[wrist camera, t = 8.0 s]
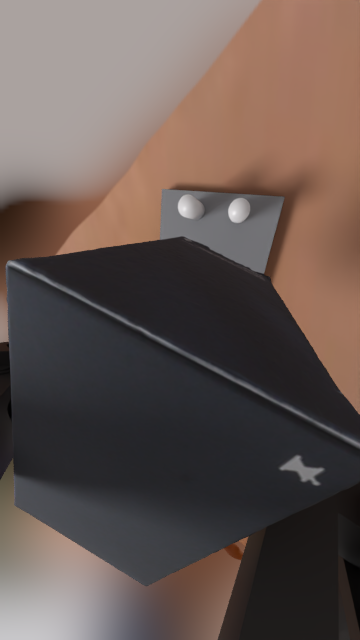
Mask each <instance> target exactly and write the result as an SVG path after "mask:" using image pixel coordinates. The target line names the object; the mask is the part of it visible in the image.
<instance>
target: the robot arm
mask: <svg viewBox="0 0 360 640" xmlns="http://www.w3.org/2000/svg"><path fill="white" fill-rule="evenodd" d="M12 458H13V432H12V404H11V376H10V353H9V342H3V343H0V479H1V478H2V476H3V474H4V472H5V471H6V469H7V467H8V465H9V464H10V462H11V460H12ZM218 640H360V482H359V483H357V484H356V485H354V486H352V487H350V488H348V489H346V490H342V491H340V492H338V493H336V494H335V495H333V496H331V497H329V498H326V499H324V500H322V501H320V502H318V503H317V504H315V505H312V506H310V507H308V508H306V509H303V510H301V511H299V512H297V513H295V514H292V515H290V516H288V517H286V518H284V519H282V520H280V521H278V522H276V523H273V524H271V525H269V526H267V527H265V528H264V529H262V530H261V531H258V532H256V533H254V534H252V535H250V536H249V537H248V540H247V544H246V547H245V550H244V554H243V557H242V560H241V564H240V567H239V570H238V574H237V577H236V580H235V584H234V587H233V590H232V595H231V597H230V600H229V604H228V607H227V611H226V614H225V617H224V621H223V624H222V627H221V631H220V634H219V637H218Z"/></svg>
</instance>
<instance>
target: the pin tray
mask: <svg viewBox="0 0 360 640" xmlns="http://www.w3.org/2000/svg"><path fill="white" fill-rule="evenodd" d="M284 198H285V197H281V196H265V195H249V194H233V193H217V192H201V191H185V190H169V189H162V203H161V228H160V240H162V239H169V238H175V237H180V236H183V237H186V238H188V239H190V240H193V241H195V242H199V243H201V244H203V245H205V246H208V247H209V248H210V249H211V250H213V251H215V252H217V253H219V254H222V255H223V256H225V257H227V258H229V259H230V260H234V261H235V262H236V263H239V264H242V265H244V266H245V267H249V268H250V269H251V270H252V271H255V272H259V273H263V274H264V271H265V268H266V264H267V260H268V257H269V253H270V249H271V246H272V242H273V238H274V234H275V231H276V227H277V223H278V220H279V216H280V212H281V209H282V205H283V201H284Z"/></svg>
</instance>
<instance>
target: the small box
mask: <svg viewBox="0 0 360 640" xmlns="http://www.w3.org/2000/svg"><path fill="white" fill-rule="evenodd" d="M6 283H7V303H8V335H9V353H10V376H11V404H12V432H13V459H14V490H15V491H14V495H15V504H14V505H15V506H16V507H18V508H20V509H21V510H23V511H25V512H27V513H29V514H30V515H32V516H33V517H35V518H36V519H38V520H40V521H41V522H43V523H45V524H46V525H48V526H50V527H51V528H53V529H55V530H56V531H58V532H59V533H61V534H62V535H64V536H66V537H67V538H69V539H71V540H72V541H74V542H75V543H77V544H79V545H80V546H82V547H83V548H85V549H86V550H88V551H90V552H91V553H93V554H95V555H96V556H98V557H99V558H101V559H103V560H104V561H106V562H107V563H109V564H111V565H113V566H114V567H115V568H117V569H118V570H120V571H122V572H124V573H125V574H127V575H128V576H130V577H132V578H133V579H135V580H136V581H138V582H139V583H141V584H143V585H145V586H148V585H150V584H152V583H154V582H156V581H158V580H160V579H162V578H164V577H166V576H167V575H169V574H171V573H174V572H176V571H178V570H180V569H182V568H184V567H186V566H188V565H190V564H192V563H194V562H197V561H199V560H201V559H202V558H205V557H207V556H208V555H210V554H212V553H215V552H217V551H219V550H221V549H223V548H225V547H227V546H229V545H230V544H232V543H235V542H237V541H239V540H241V539H243V538H245V537H248V536H250V535H252V534H254V533H256V532H258V531H261V530H262V529H264V528H265V527H267V526H269V525H271V524H273V523H276V522H278V521H280V520H282V519H284V518H286V517H288V516H290V515H292V514H295V513H297V512H299V511H301V510H303V509H306V508H308V507H310V506H312V505H315V504H317V503H318V502H320V501H322V500H324V499H326V498H329V497H331V496H333V495H335V494H336V493H338V492H340V491H342V490H346V489H348V488H350V487H352V486H354V485H356V484H357V483H359V482H360V415H359V414H358V412H357V411H356V410H355V409H354V407H353V406H352V405H351V403H350V402H349V401H348V400H347V398H346V397H345V396H344V395H343V394H342V393H341V392H340V390H339V389H338V387H337V386H336V384H335V383H334V381H333V380H332V378H331V377H330V375H329V373H328V371H327V370H326V368H325V367H324V365H323V364H322V363H321V361H320V360H319V358H318V356H317V354H316V353H315V351H314V349H313V347H312V346H311V345H310V343H309V341H308V340H307V339H306V337H305V335H304V333H303V332H302V331H301V329H300V328H299V326H298V325H297V323H296V321H295V319H294V318H293V317H292V315H291V313H290V312H289V310H288V308H287V307H286V305H285V303H284V302H283V300H282V299H281V297H280V296H279V294H278V293H277V291H276V290H275V288H274V287H273V285H272V283H271V279H270V277H269V276H265V275H264V274H263V273H259V272H255V271H252V270H251V269H250V268H249V267H245V266H244V265H242V264H239V263H236V262H235V261H234V260H230V259H229V258H227V257H225V256H223V255H222V254H219V253H217V252H215V251H213V250H211V249H210V248H209V247H208V246H205V245H203V244H201V243H199V242H195V241H193V240H190V239H188V238H186V237H183V236H180V237H175V238H169V239H162V240H156V241H149V242H143V243H135V244H127V245H121V246H113V247H106V248H99V249H95V250H87V251H81V252H75V253H69V254H62V255H56V256H49V257H38V258H22V259H16V260H11V261H8V263H7V265H6Z"/></svg>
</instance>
